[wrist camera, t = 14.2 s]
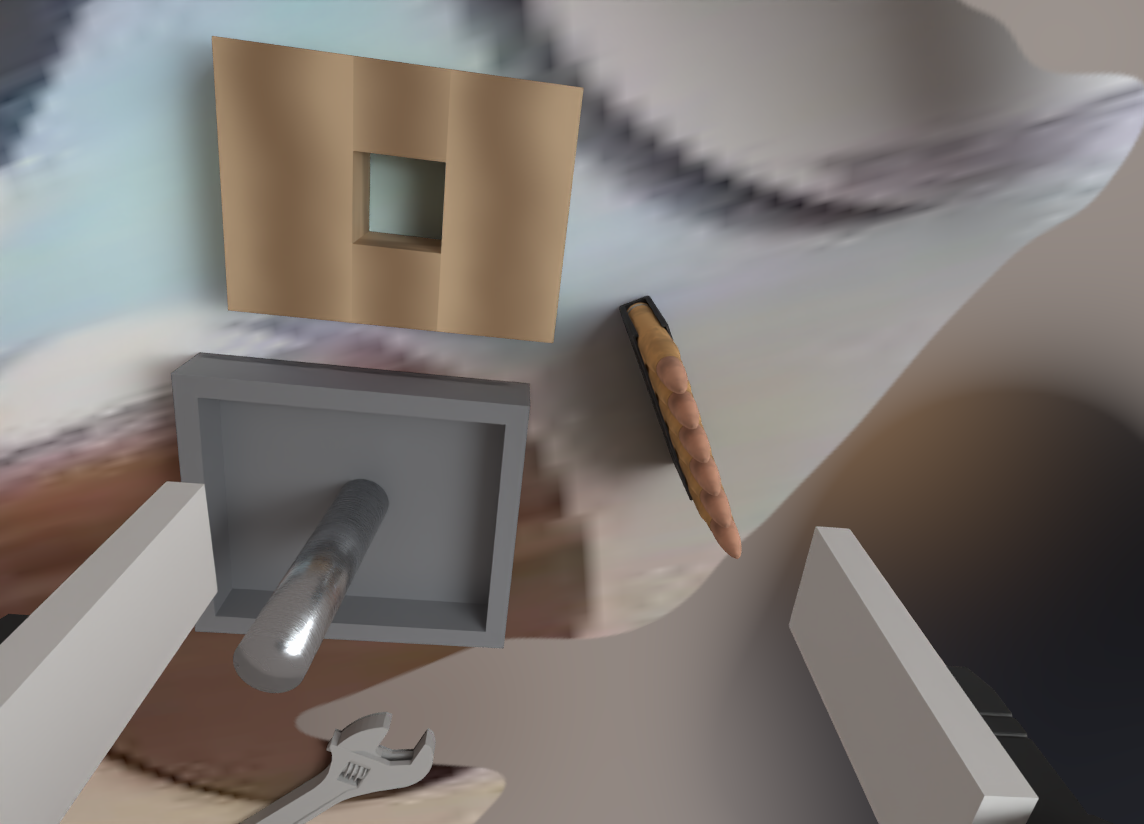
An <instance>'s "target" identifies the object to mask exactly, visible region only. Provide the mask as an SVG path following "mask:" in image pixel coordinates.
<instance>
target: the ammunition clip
mask: <svg viewBox="0 0 1144 824" xmlns="http://www.w3.org/2000/svg"><path fill="white" fill-rule="evenodd" d="M620 312H621V315H622V318H623V321H624V324H625V327H626V329H627V332H628V335H629V338H630V341H631V343H632V346H633V349H634V352H635V355H636V358H637V360H638V363H639V366H640V369H641V372H642V375H643V377H644V380H645V383H646V386H647V389H648V391H649V394H650V397H651V400H652V403H653V406H654V408H655V411H656V414H657V417H658V420H659V422H660V425H661V428H662V431H663V434H664V437H665V439H666V442H667V445H668V448H669V451H670V454H671V456H672V459H673V462H674V464H675V467H676V469H677V471H678V473H679V476H680V478H681V480H682V483H683V485H684V487H685V489H686V492H687V494H688V496H689V499H690V500H693V501H694V503H695V505H696V508H697V510H698V512H699V514H700V516H701V517H702V518H703V519H704V521H705V522H706V523H707V525H708V526H709V528H710V530H711V531H712V533H713V535H714V537H715V539H716V540H717V542H718V543H719V545H720V546H721V547H722V548H723V549H724V550H725V552H727V553H728V554H729V555H730V556H731V557H734V558H736V559H738V558H739V557H740V555H741V540H740V536H739V533H738V530H737V527H736V525H735V523H734V520H733V517H732V515H731V509H730V505H729V502H728V499H727V497H726V495H725V492H724V489H723V487H722V484H721V478H720V475H719V472H718V469H717V466H716V464H715V462H714V459H713V456H712V454H711V447H710V444H709V441H708V438H707V435H706V433H705V431H704V428H703V426H702V423H701V417H700V414H699V411H698V408H697V404H696V402H695V400H694V398H693V395H692V393H691V386H690V383H689V381H688V378H687V374H686V371H685V368H684V366H683V364H682V361H681V359H680V353H679V350H678V348H677V346H676V344H675V343H674V341H673V338H672V335H671V332H670V329H669V326H668V324H667V322H666V321H665V319H664V318H663V316H662V315H661V313H660V311H659V310H658V308H657V307H656V305H655V304H654V302H653V301H652V299H651V298H650V297H649V296H646V297H644V298H641V299H638V300H636V301H633V302H630V303H628V304H625V305H622V306H620Z"/></svg>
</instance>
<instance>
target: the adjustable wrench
mask: <svg viewBox="0 0 1144 824" xmlns="http://www.w3.org/2000/svg"><path fill="white" fill-rule="evenodd" d="M391 718H392V714H391V713H388V712H379V713H374V714H370V715H367V716H364V717H361V718H359V719H357V720H355V721H354V722H352V723H351V724H349V725H348V726H346V727H345V728H344V729H343V730H342V731H341V730H339V729H335V732H334V735H333V738H332V739H331V740H330V742H329V743H328V746H327V749H326V750H327V751H330V752H332V761H331V763H330V764H329V766H328V767H327V768H326V769H325V770H324V771H322V772H321V773H320V774H319V775H317V776H316V777H314V778H312V779H311V780H309V781H307V782H306V783H304V784H303V785H301V786H299V787H298V788H296V789H294V790H293V791H291V792H290V793H288V794H286V795H285V796H283V797H281V798H280V799H278V800H277V801H275V802H273V803H272V804H270V805H269V806H267V807H265V808H264V809H262V810H260V811H259V812H257V813H256V814H254V815H252V816H251V817H249V818H247V819H246V820H244V821H243V822H241V823H239V824H305V823H306V822H308V821H310V820H311V819H313V818H314V817H316V816H317V815H319V814H321V813H322V812H324V811H325V810H327V809H328V808H330V807H332V806H333V805H335V804H337V803H339V802H341V801H343V800H345V799H348V798H351V797H355V796H359V795H363V794H367V793H371V792H376V791H382V790H388V789H395V788H401V787H406V786H409V785H412V784H414V783H416V782H418V781H420V780H421V779H423V778H424V777H425V775H426V774H427V773H428V772H429V771H430V768H431V766H432V762H433V756H434V749H435V742H436V740H435V736H434V732H433V731H432V730H431V729H429V728H428V729H427V730H426V731H425V733H424V734H423V736H422V737H421V739H420V740H419V742H418V743H417V745H416V746H415V748H414V749H398V750H392V749H389V748H387V747H385V746H382V745H379V744H380V743H381V741H382V740H383V738H384V736H385V735H386V734H387V732H388V730H389V727H390V722H391Z"/></svg>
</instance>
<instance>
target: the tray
mask: <svg viewBox="0 0 1144 824" xmlns="http://www.w3.org/2000/svg"><path fill="white" fill-rule="evenodd" d="M171 378H172V389H173V400H174V410H175V421H176V431H177V442H178V453H179V463H180V474H181V482H184V483H198V484H204V485H205V493H206V501H207V509H208V517H209V525H210V533H211V541H212V549H213V557H214V566H215V574H216V582H217V590H218V592H217V593H216V595H215V596H214V598H213V599H212V600H211V602H210V603H209V605H208V606H207V608H206V609H205V611H204V612H203V614H202V615H201V617H200V618H199V619H198V621H197V622H196V624H195V631H198V632H216V633H234V634H246V633H247V632H248V630H249V629H250V627H251V626H252V624H253V623H254V621H255V620H256V618H257V617H258V615H259V614H260V612H261V611H262V609H263V607H264V606H265V604H266V603H267V601H268V600H269V598H270V597H271V595H272V594H273V592H274V591H275V589H276V588H277V586H278V585H279V583H280V582H281V580H282V579H283V577H284V576H285V574H286V573H287V571H288V570H289V568H290V567H291V565H292V563H293V562H294V560H295V559H296V557H297V556H298V554H299V553H300V551H301V550H302V548H303V547H304V545H305V544H306V542H307V541H308V539H309V538H310V536H311V535H312V533H313V532H314V530H315V529H316V527H317V526H318V524H319V523H320V521H321V519H322V518H323V516H324V515H325V513H326V512H327V510H328V509H329V507H330V506H331V504H332V503H333V501H334V500H335V498H336V497H337V495H338V494H339V492H340V491H341V489H342V488H343V486H344V485H346V484H347V483H348V482H350V481H353V480H357V479H365V480H369V481H372V482H374V483H376V484H378V485H379V486H380V487H381V488H382V489H383V490H384V491H385V493H386V494H387V497H388V500H389V507H388V511H387V513H386V515H385V517H384V519H383V521H382V523H381V525H380V527H379V529H378V531H377V533H376V535H375V537H374V539H373V541H372V543H371V545H370V547H369V549H368V551H367V553H366V555H365V557H364V559H363V561H362V563H361V565H360V567H359V569H358V571H357V573H356V575H355V577H354V579H353V581H352V583H351V585H350V587H349V589H348V591H347V593H346V595H345V597H344V599H343V601H342V603H341V605H340V607H339V608H338V610H337V612H336V614H335V616H334V618H333V620H332V622H331V624H330V626H329V628H328V630H327V632H326V634H325V636H324V639H342V640H360V641H379V642H397V643H415V644H433V645H451V646H469V647H488V648H504V639H505V630H506V621H507V612H508V602H509V593H510V584H511V575H512V566H513V557H514V548H515V539H516V530H517V521H518V511H519V502H520V493H521V484H522V475H523V466H524V457H525V448H526V439H527V429H528V420H529V411H530V384H526V383H516V382H505V381H495V380H484V379H474V378H463V377H453V376H442V375H431V374H421V373H410V372H400V371H389V370H379V369H368V368H358V367H347V366H337V365H326V364H315V363H305V362H294V361H284V360H273V359H263V358H252V357H242V356H231V355H221V354H210V353H199V354H197V355H196V356H194V357H193V358H192V359H190V360H189V361H188V362H186V363H185V364H183V365H182V366H181V367H179V368H178V369H177V370H175V371H174V372H173V373H171Z"/></svg>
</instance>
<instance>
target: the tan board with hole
mask: <svg viewBox="0 0 1144 824" xmlns="http://www.w3.org/2000/svg"><path fill="white" fill-rule="evenodd" d="M212 49H213V66H214V82H215V99H216V116H217V132H218V149H219V166H220V182H221V199H222V216H223V232H224V249H225V266H226V283H227V299H228V310H230V311H240V312H250V313H260V314H270V315H280V316H290V317H300V318H310V319H319V320H329V321H339V322H349V323H359V324H369V325H379V326H389V327H398V328H408V329H418V330H428V331H438V332H448V333H458V334H468V335H478V336H487V337H497V338H507V339H517V340H527V341H537V342H547V343H553V340H554V332H555V324H556V315H557V307H558V298H559V290H560V281H561V273H562V265H563V256H564V248H565V239H566V231H567V223H568V214H569V206H570V197H571V189H572V180H573V172H574V164H575V155H576V147H577V138H578V130H579V122H580V113H581V105H582V96H583V88H580V87H573V86H566V85H559V84H552V83H545V82H538V81H530V80H523V79H516V78H509V77H502V76H495V75H488V74H480V73H473V72H466V71H459V70H452V69H445V68H437V67H430V66H423V65H416V64H409V63H402V62H395V61H387V60H380V59H373V58H366V57H359V56H352V55H344V54H337V53H330V52H323V51H316V50H309V49H302V48H294V47H287V46H280V45H273V44H266V43H259V42H251V41H244V40H237V39H230V38H223V37H216V36H212ZM370 153H375V154H383V155H391V156H399V157H407V158H415V159H423V160H430V161H438V162H446V172H445V190H444V209H443V227H442V240H441V239H432V238H423V237H415V236H406V235H397V234H388V233H380V232H371V231H369V204H370Z"/></svg>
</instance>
